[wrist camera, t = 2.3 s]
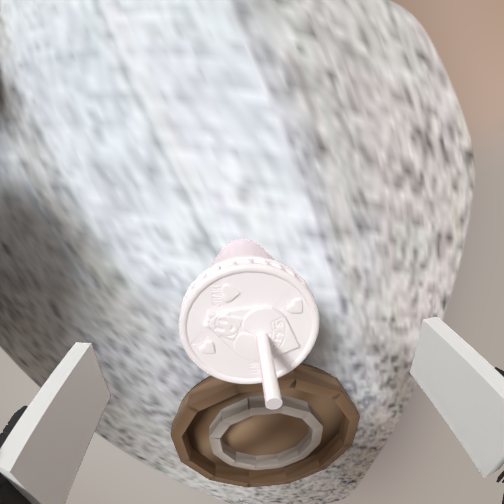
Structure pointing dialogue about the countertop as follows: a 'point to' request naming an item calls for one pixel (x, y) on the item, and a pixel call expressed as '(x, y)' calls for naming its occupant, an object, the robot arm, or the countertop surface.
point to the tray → (264, 428)
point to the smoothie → (248, 319)
